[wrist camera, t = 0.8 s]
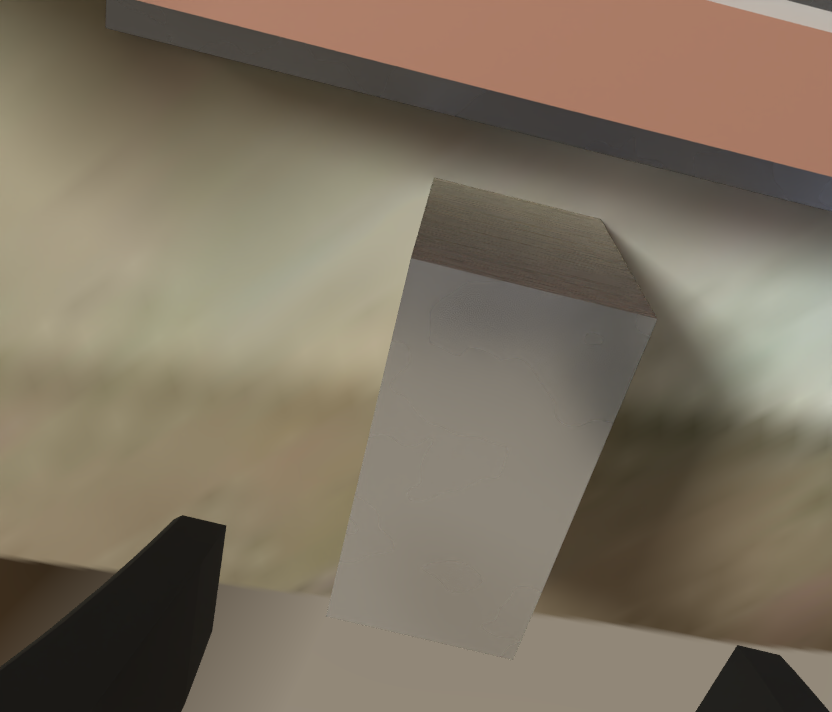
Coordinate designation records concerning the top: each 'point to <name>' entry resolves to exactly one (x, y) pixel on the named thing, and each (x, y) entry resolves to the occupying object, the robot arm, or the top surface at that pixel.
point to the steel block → (487, 417)
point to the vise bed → (472, 101)
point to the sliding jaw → (598, 59)
